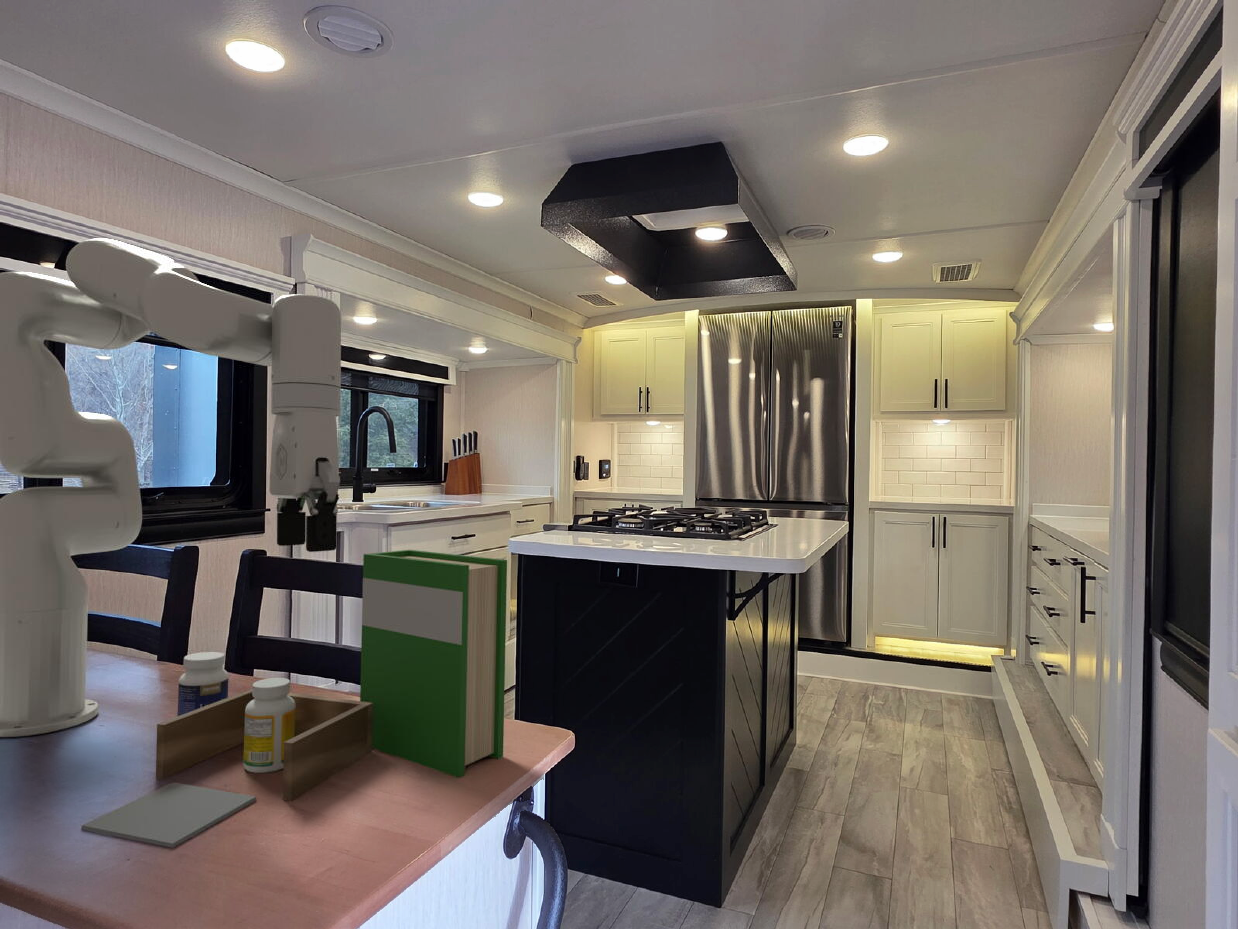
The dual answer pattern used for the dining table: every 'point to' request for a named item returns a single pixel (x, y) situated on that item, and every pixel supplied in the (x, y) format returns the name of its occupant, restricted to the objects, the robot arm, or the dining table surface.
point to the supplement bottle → (268, 725)
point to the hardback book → (434, 656)
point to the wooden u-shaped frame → (314, 754)
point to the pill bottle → (202, 681)
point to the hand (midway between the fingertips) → (305, 547)
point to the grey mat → (169, 814)
